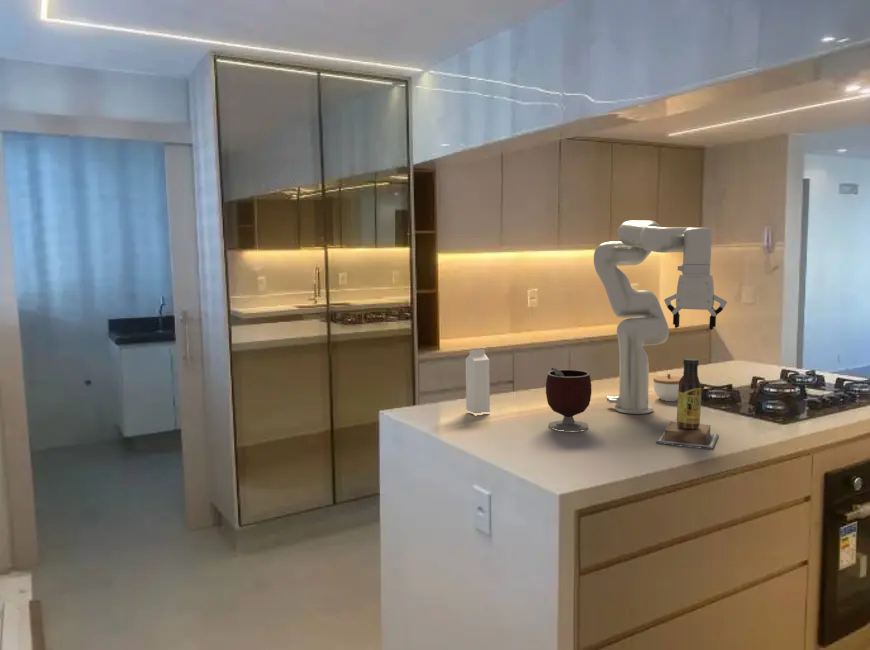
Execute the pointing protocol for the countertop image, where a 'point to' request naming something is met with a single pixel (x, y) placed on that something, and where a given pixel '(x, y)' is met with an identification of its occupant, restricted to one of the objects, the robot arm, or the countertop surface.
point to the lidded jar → (666, 387)
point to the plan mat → (688, 436)
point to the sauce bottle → (689, 396)
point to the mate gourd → (568, 397)
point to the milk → (477, 382)
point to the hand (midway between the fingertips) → (693, 328)
